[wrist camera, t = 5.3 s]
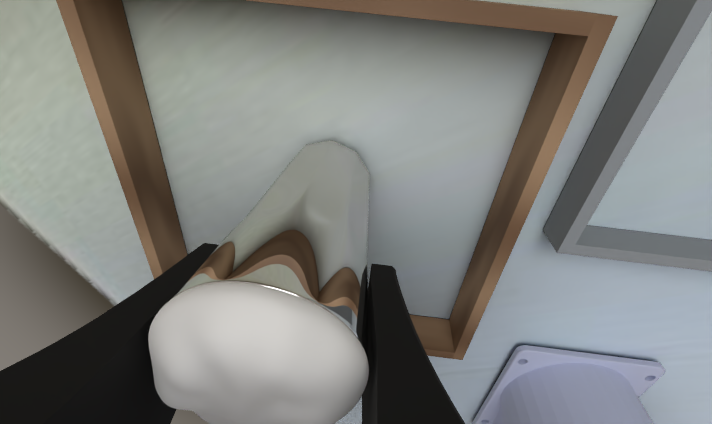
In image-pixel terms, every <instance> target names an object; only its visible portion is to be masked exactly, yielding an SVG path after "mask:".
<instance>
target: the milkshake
mask: <svg viewBox="0 0 712 424" xmlns="http://www.w3.org/2000/svg"><path fill="white" fill-rule="evenodd" d="M369 178H370V175H369V172H368V170H367V168H366V167H365V165H364V163H363V162H362V160H361V158H360V157H359V155H358V153H357V152H356V151H354V150H352V149H350V148H347V147H345V146H343V145H341V144H339V143H337V142H335V141H332V140H331V141H324V142H318V143H312V144H306V145H305V146H304V147H303V148H302V150H301V151H300V152H299V153H298V154H297V155H296V156H295V157H294V158H293V160H292V161H291V162H290V163H289V164H288V165H287V167H286V168H285V169H284V170H283V171H282V173H281V174H280V175H279V176H278V178H277V179H276V180H275V181H274V183H273V184H272V185H271V186H270V188H269V189H268V190H267V191H266V193H265V194H264V195H263V196H262V197H261V199H260V200H259V201H258V202H257V204H256V205H255V206H254V207H253V209H252V210H251V211H250V212H249V213H248V215H247V216H246V217H245V218H244V220H243V221H242V222H241V223H240V224H239V225H238V226H236V227H235V228H234V229H233V230H232V231H231V232H230V233H229V235H228V236H227V237H226V238H225V239H224V240H223V241H222V242H221V243H220V244H219V245H218V247H217V248H216V249H215V250H214V251H213V252H212V253H211V254H210V255H209V257H208V258H207V259H206V260H205V261H204V262H203V263H202V264H201V266H200V267H199V268H198V269H197V270H196V271H195V272H194V273H193V275H192V276H191V277H190V278H189V279H188V280H187V281H186V282H185V283H184V285H183V286H182V287H181V288H180V289H179V290H178V291H177V292H176V294H175V295H174V296H173V297H172V298H171V299H170V301H168V302H167V303H166V304H165V305H164V306H163V307H162V308H161V309H160V310H159V312H158V313H157V314H156V316H155V318H154V319H153V321H152V323H151V326H150V329H149V334H148V342H149V351H150V356H151V362H152V368H153V376H154V383H155V388H156V391H157V393H158V395H159V397H160V398H161V400H162V401H163V402H164V403H165V404H166V405H168V406H170V407H172V408H175V409H180V410H191V411H193V412H195V413H196V414H197V415H198V416H199V417H201V418H202V419H203V420H204V421H206V422H208V423H210V424H334V423H336V422H337V421H338V420H340V419H341V418H342V417H344V416H345V415H346V414H347V413H348V412H349V411H350V410H351V409H352V408H353V407H354V406H355V405H356V404H357V403H358V401H359V399H360V398H361V396H362V394H363V392H364V390H365V387H366V385H367V381H368V376H369V365H368V281H367V241H368V209H369Z"/></svg>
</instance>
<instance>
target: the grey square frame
mask: <svg viewBox="0 0 712 424" xmlns="http://www.w3.org/2000/svg"><path fill="white" fill-rule="evenodd" d="M711 11H712V0H657V2H656V4H655V6H654V8H653V10H652V12H651V14H650V16H649V18H648V20H647V22H646V24H645V26H644V28H643V30H642V32H641V34H640V36H639V38H638V40H637V42H636V44H635V46H634V48H633V50H632V52H631V54H630V56H629V58H628V60H627V62H626V64H625V66H624V68H623V70H622V72H621V74H620V76H619V78H618V80H617V82H616V84H615V86H614V88H613V90H612V92H611V94H610V96H609V98H608V100H607V102H606V104H605V106H604V108H603V110H602V112H601V114H600V116H599V118H598V120H597V122H596V124H595V126H594V128H593V130H592V132H591V134H590V137H589V139H588V141H587V143H586V145H585V147H584V149H583V151H582V153H581V155H580V157H579V159H578V161H577V163H576V165H575V167H574V169H573V171H572V173H571V175H570V177H569V179H568V181H567V183H566V185H565V187H564V189H563V191H562V193H561V195H560V197H559V199H558V201H557V203H556V205H555V207H554V209H553V211H552V213H551V215H550V217H549V219H548V221H547V223H546V225H545V227H544V229H543V231H544V233H545V234H546V236H547V237H548V239H549V241H550V242H551V244H552V246H553V247H554V249H555V250H556V252H557V253H563V254H571V255H580V256H588V257H596V258H604V259H613V260H621V261H629V262H637V263H646V264H654V265H662V266H670V267H679V268H687V269H695V270H704V271H712V240H706V239H697V238H689V237H681V236H672V235H664V234H655V233H647V232H639V231H630V230H622V229H613V228H605V227H596V226H588V225H587V224H588V222H589V220H590V219H591V217H592V215H593V214H594V212H595V210H596V208H597V207H598V205H599V203H600V202H601V200H602V198H603V196H604V195H605V193H606V191H607V190H608V188H609V186H610V184H611V183H612V181H613V179H614V178H615V176H616V174H617V172H618V171H619V169H620V167H621V166H622V164H623V162H624V160H625V159H626V157H627V155H628V154H629V152H630V150H631V148H632V147H633V145H634V143H635V142H636V140H637V138H638V136H639V135H640V133H641V131H642V130H643V128H644V126H645V124H646V123H647V121H648V119H649V118H650V116H651V114H652V112H653V111H654V109H655V107H656V106H657V104H658V102H659V100H660V99H661V97H662V95H663V94H664V92H665V90H666V88H667V87H668V85H669V83H670V82H671V80H672V78H673V76H674V75H675V73H676V71H677V70H678V68H679V66H680V64H681V63H682V61H683V59H684V58H685V56H686V54H687V52H688V51H689V49H690V47H691V46H692V44H693V42H694V40H695V39H696V37H697V35H698V34H699V32H700V30H701V28H702V27H703V25H704V23H705V22H706V20H707V18H708V17H709V15H710V13H711Z"/></svg>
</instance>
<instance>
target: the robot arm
mask: <svg viewBox="0 0 712 424" xmlns="http://www.w3.org/2000/svg"><path fill="white" fill-rule="evenodd" d="M217 247H218V245H216V244H207V243H204V244H202V245H201V246H200V247H198V248H197V249H195V250H194V251H193V252H191V253H190V254H188V255H187V256H186V257H184V258H183V259H182V260H180V261H179V262H178V263H176V264H175V265H173V266H172V267H171V268H169V269H168V270H167V271H165V272H164V273H162V274H161V275H160V276H158V277H157V278H155V279H154V280H153V281H151V282H150V283H148V284H147V285H146V286H144V287H143V288H141V289H140V290H139V291H137V292H136V293H134V294H133V295H131V296H130V297H128V298H127V299H125V300H123V301H122V302H120V303H119V304H117V305H116V306H114V307H113V308H112V309H110V310H108V311H107V312H106V313H104V314H102V315H101V316H99V317H98V318H96V319H94V320H93V321H91V322H89V323H88V324H86V325H84V326H83V327H81V328H80V329H78V330H76V331H74V332H73V333H71V334H69V335H67V336H66V337H64V338H62V339H60V340H59V341H57V342H55V343H53V344H52V345H50V346H48V347H46V348H44V349H42V350H41V351H39V352H37V353H35V354H33V355H31V356H29V357H27V358H25V359H23V360H21V361H19V362H17V363H15V364H13V365H11V366H9V367H7V368H6V369H3V370H1V371H0V424H170V423H171V420H172V418H173V416H174V413H175V411H176V409H175V408H172V407H170V406H168V405H166V404H165V403H164V402H163V401H162V400H161V398H160V397H159V395H158V393H157V391H156V388H155V383H154V376H153V368H152V362H151V356H150V351H149V342H148V334H149V329H150V326H151V323H152V321H153V319H154V318H155V316H156V314H157V313H158V312H159V310H160V309H161V308H162V307H163V306H164V305H165V304H166V303H167V302H168V301H170V299H171V298H172V297H173V296H174V295H175V294H176V292H177V291H178V290H179V289H180V288H181V287H182V286H183V285H184V283H185V282H186V281H187V280H188V279H189V278H190V277H191V276H192V275H193V273H194V272H195V271H196V270H197V269H198V268H199V267H200V266H201V264H202V263H203V262H204V261H205V260H206V259H207V258H208V257H209V255H210V254H211V253H212V252H213V251H214V250H215V249H216V248H217ZM368 365H369V376H368V381H367V385H366V387H365V390H364V392H363V394H362V424H465V423H464V421H463V419H462V418H461V416H460V414H459V413H458V411H457V409H456V408H455V406H454V404H453V403H452V401H451V399H450V397H449V396H448V394H447V392H446V390H445V389H444V387H443V385H442V383H441V381H440V380H439V378H438V376H437V374H436V372H435V370H434V368H433V366H432V364H431V362H430V360H429V358H428V356H427V354H426V352H425V350H424V348H423V346H422V343H421V341H420V339H419V337H418V334H417V332H416V330H415V327H414V325H413V322H412V320H411V318H410V315H409V313H408V310H407V307H406V305H405V302H404V299H403V296H402V293H401V290H400V286H399V283H398V279H397V275H396V270H395V269H394V267H393V266H387V265H379V264H372V266H371V273H370V279H369V286H368ZM664 373H665V369H664V367H663V366H662V364H661V363H658V362H654V361H646V360H638V359H631V358H623V357H615V356H607V355H599V354H592V353H584V352H576V351H568V350H560V349H553V348H545V347H537V346H529V345H522V346H519V347H517V348H516V349H515V350H514V352H513V354H512V356H511V357H510V359H509V361H508V362H507V364H506V366H505V368H504V369H503V371H502V373H501V374H500V376H499V378H498V379H497V381H496V383H495V385H494V386H493V388H492V390H491V391H490V393H489V395H488V397H487V398H486V400H485V402H484V403H483V405H482V407H481V408H480V410H479V412H478V414H477V415H476V417H475V419H474V420H473V423H472V424H654V423H653V421H652V419H651V418H650V416H649V414H648V413H647V411H646V409H645V408H644V406H643V404H642V403H641V401H640V399H639V397H640V396H641V395H642V394H643V393H644V392H645V391H646V390H647V389H648V388H650V387H651V386H652V385H653V384H654V383H655V382H656V381H657V380H658V379H659V378H660V377H661V376H662V375H664Z"/></svg>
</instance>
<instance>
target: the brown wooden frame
mask: <svg viewBox="0 0 712 424" xmlns="http://www.w3.org/2000/svg"><path fill="white" fill-rule="evenodd" d="M56 1H57V4H58V7H59V9H60V12H61V15H62V18H63V21H64V24H65V27H66V29H67V32H68V35H69V38H70V41H71V44H72V46H73V49H74V52H75V55H76V58H77V61H78V64H79V66H80V69H81V72H82V75H83V78H84V81H85V83H86V86H87V89H88V92H89V95H90V98H91V100H92V103H93V106H94V109H95V112H96V115H97V118H98V120H99V123H100V126H101V129H102V132H103V135H104V137H105V140H106V143H107V146H108V149H109V152H110V155H111V157H112V160H113V163H114V166H115V169H116V172H117V174H118V177H119V180H120V183H121V186H122V189H123V191H124V194H125V197H126V200H127V203H128V206H129V209H130V211H131V214H132V217H133V220H134V223H135V226H136V228H137V231H138V234H139V237H140V240H141V243H142V246H143V248H144V251H145V254H146V257H147V260H148V263H149V265H150V268H151V271H152V274H153V277H154V279H155V278H157V277H158V276H160V275H161V274H162V273H164V272H165V271H167V270H168V269H169V268H171V267H172V266H173V265H175V264H176V263H178V262H179V261H180V260H182V259H183V258H184V257H186V256H187V251H186V247H185V244H184V240H183V236H182V232H181V228H180V224H179V221H178V217H177V213H176V209H175V205H174V201H173V197H172V194H171V190H170V186H169V182H168V178H167V174H166V170H165V167H164V163H163V159H162V155H161V151H160V147H159V144H158V140H157V136H156V132H155V128H154V124H153V120H152V117H151V113H150V109H149V105H148V101H147V97H146V93H145V90H144V86H143V82H142V78H141V74H140V70H139V67H138V63H137V59H136V55H135V51H134V47H133V43H132V40H131V36H130V32H129V28H128V24H127V20H126V16H125V13H124V9H123V5H122V1H121V0H56ZM248 1H257V2H267V3H276V4H286V5H295V6H305V7H314V8H324V9H333V10H343V11H352V12H362V13H371V14H381V15H390V16H400V17H409V18H419V19H428V20H438V21H447V22H457V23H466V24H476V25H485V26H495V27H505V28H514V29H524V30H533V31H543V32H552V33H555V36H554V39H553V41H552V44H551V47H550V49H549V52H548V55H547V57H546V60H545V63H544V66H543V68H542V71H541V74H540V76H539V79H538V82H537V84H536V87H535V90H534V92H533V95H532V98H531V101H530V103H529V106H528V109H527V111H526V114H525V117H524V119H523V122H522V125H521V127H520V130H519V133H518V136H517V138H516V141H515V144H514V146H513V149H512V152H511V154H510V157H509V160H508V162H507V165H506V168H505V171H504V173H503V176H502V179H501V181H500V184H499V187H498V189H497V192H496V195H495V197H494V200H493V203H492V206H491V208H490V211H489V214H488V216H487V219H486V222H485V224H484V227H483V230H482V232H481V235H480V238H479V241H478V243H477V246H476V249H475V251H474V254H473V257H472V259H471V262H470V265H469V268H468V270H467V273H466V276H465V278H464V281H463V284H462V286H461V289H460V292H459V294H458V297H457V300H456V303H455V305H454V308H453V311H452V313H451V316H450V319H449V320H448V319H440V318H433V317H425V316H417V315H410V318H411V320H412V322H413V325H414V327H415V330H416V332H417V334H418V337H419V339H420V341H421V343H422V346H423V348H424V350H425V352H426V354H427V355H428V356H436V357H443V358H451V359H459V360H463V357H464V355H465V353H466V351H467V349H468V346H469V344H470V342H471V340H472V338H473V335H474V333H475V331H476V329H477V326H478V324H479V322H480V320H481V318H482V315H483V313H484V311H485V309H486V307H487V304H488V302H489V300H490V298H491V296H492V293H493V291H494V289H495V287H496V284H497V282H498V280H499V278H500V276H501V273H502V271H503V269H504V267H505V265H506V262H507V260H508V258H509V256H510V254H511V251H512V249H513V247H514V245H515V242H516V240H517V238H518V236H519V234H520V231H521V229H522V227H523V225H524V223H525V220H526V218H527V216H528V214H529V212H530V209H531V207H532V205H533V203H534V200H535V198H536V196H537V194H538V192H539V189H540V187H541V185H542V183H543V181H544V178H545V176H546V174H547V172H548V170H549V167H550V165H551V163H552V161H553V159H554V156H555V154H556V152H557V150H558V147H559V145H560V143H561V141H562V139H563V136H564V134H565V132H566V130H567V128H568V125H569V123H570V121H571V119H572V117H573V114H574V112H575V110H576V108H577V105H578V103H579V101H580V99H581V97H582V94H583V92H584V90H585V88H586V86H587V83H588V81H589V79H590V77H591V75H592V72H593V70H594V68H595V66H596V63H597V61H598V59H599V57H600V55H601V52H602V50H603V48H604V46H605V44H606V41H607V39H608V37H609V35H610V33H611V30H612V28H613V26H614V24H615V21H616V19H617V17H618V16H612V15H605V14H597V13H590V12H583V11H574V10H564V9H554V8H545V7H535V6H525V5H516V4H506V3H496V2H487V1H477V0H248Z"/></svg>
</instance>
